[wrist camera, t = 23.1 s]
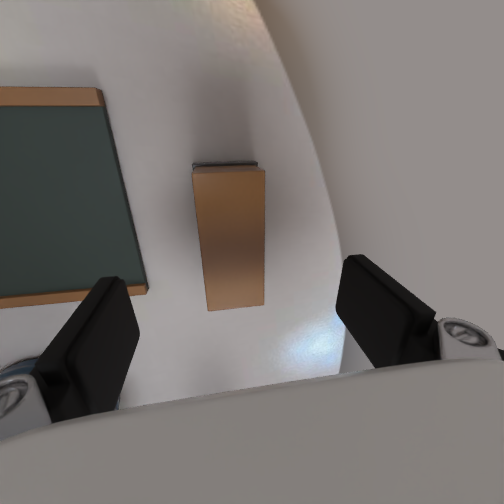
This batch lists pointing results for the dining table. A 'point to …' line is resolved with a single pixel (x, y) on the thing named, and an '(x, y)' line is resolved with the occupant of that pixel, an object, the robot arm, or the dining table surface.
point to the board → (61, 199)
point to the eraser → (231, 232)
